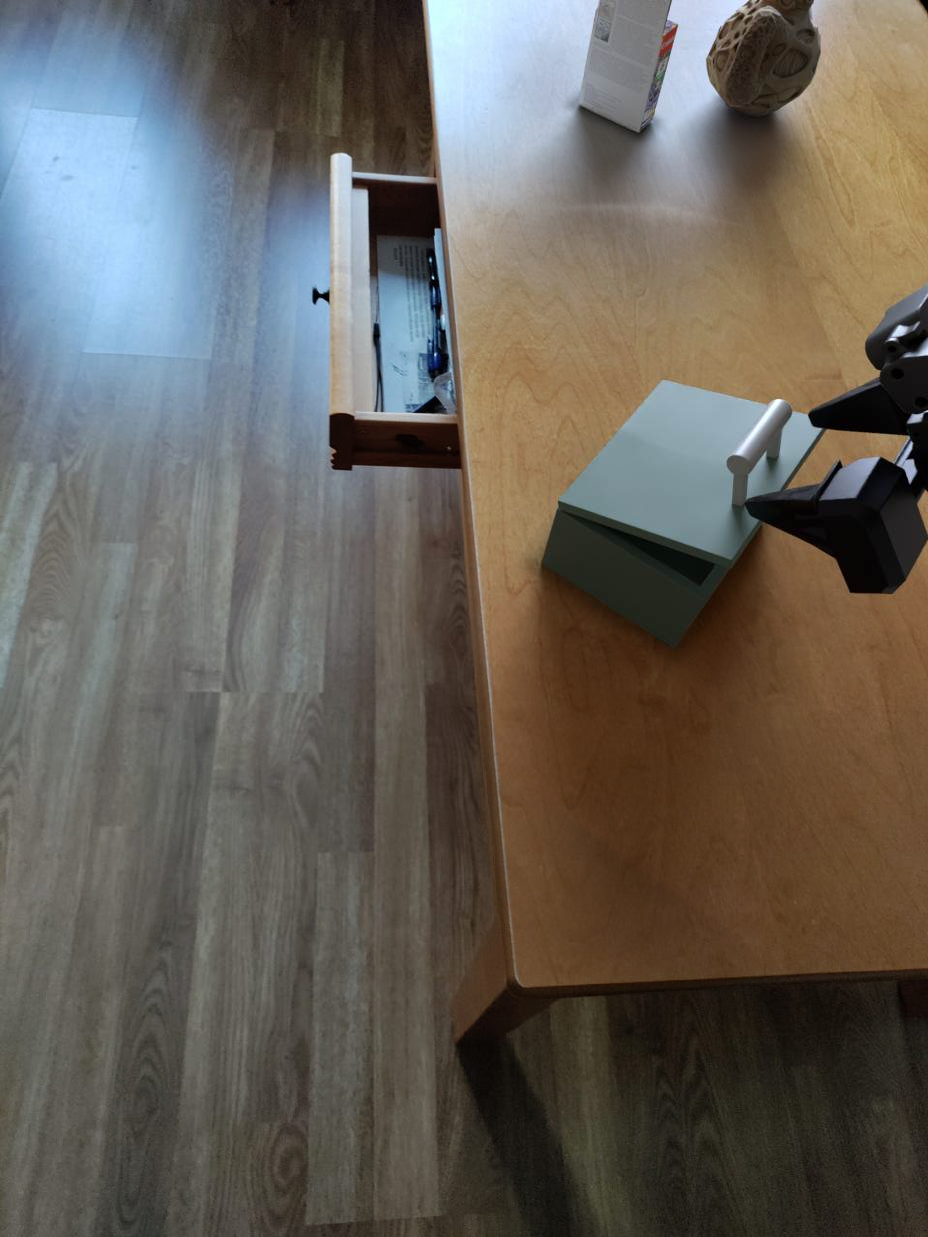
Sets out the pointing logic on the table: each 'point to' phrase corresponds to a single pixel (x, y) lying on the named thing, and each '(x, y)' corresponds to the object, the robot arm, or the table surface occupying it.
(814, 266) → the table surface
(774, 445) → the bin lid
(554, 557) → the bin
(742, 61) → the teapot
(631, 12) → the ink box
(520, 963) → the table surface
